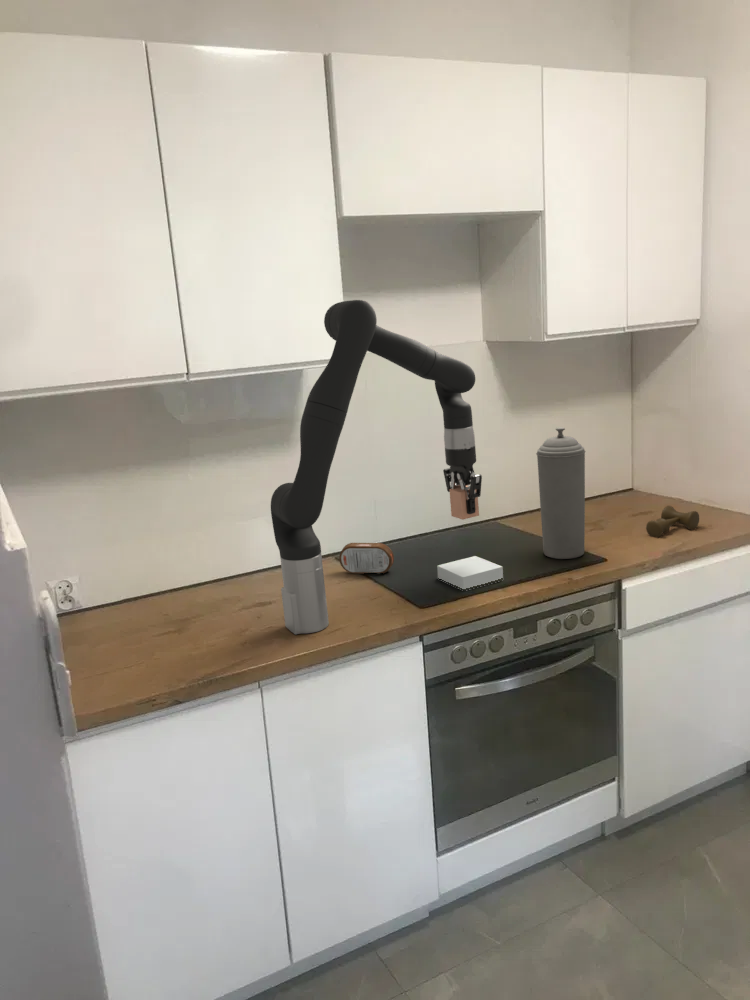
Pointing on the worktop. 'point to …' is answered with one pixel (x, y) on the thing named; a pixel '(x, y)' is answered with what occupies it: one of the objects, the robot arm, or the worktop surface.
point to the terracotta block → (461, 504)
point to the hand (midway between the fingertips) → (464, 511)
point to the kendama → (672, 521)
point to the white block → (469, 572)
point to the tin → (366, 558)
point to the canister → (562, 496)
